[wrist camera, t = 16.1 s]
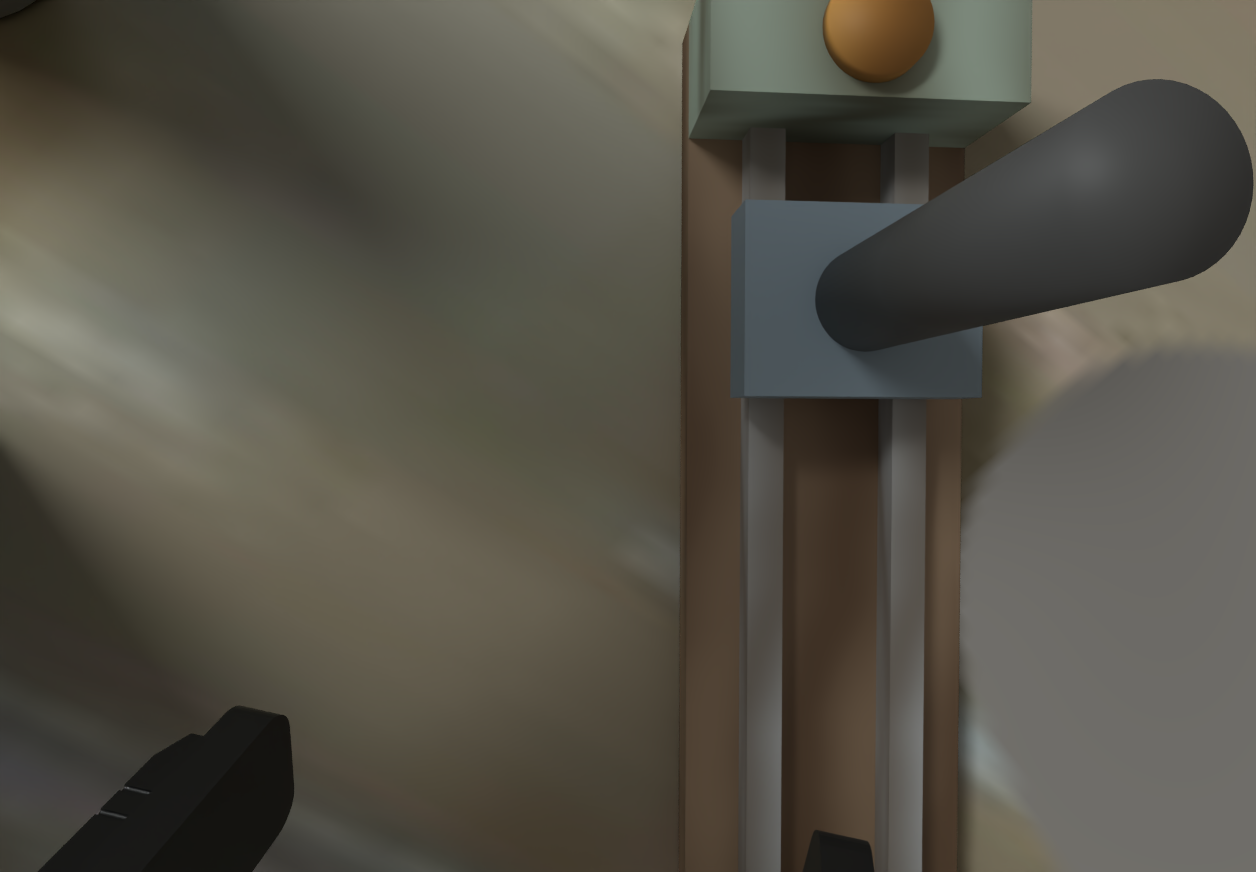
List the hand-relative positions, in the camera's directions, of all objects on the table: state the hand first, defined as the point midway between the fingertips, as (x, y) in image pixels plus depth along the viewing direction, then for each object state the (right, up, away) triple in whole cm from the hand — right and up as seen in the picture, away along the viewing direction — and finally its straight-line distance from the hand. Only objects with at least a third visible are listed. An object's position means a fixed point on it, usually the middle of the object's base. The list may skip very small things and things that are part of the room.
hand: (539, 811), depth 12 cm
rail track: (+8, +2, +18) cm, 20 cm away
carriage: (+9, +10, +15) cm, 20 cm away
